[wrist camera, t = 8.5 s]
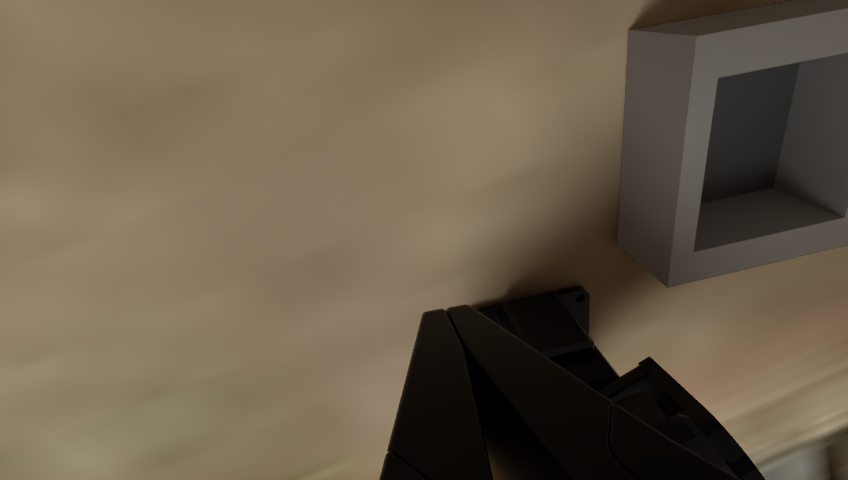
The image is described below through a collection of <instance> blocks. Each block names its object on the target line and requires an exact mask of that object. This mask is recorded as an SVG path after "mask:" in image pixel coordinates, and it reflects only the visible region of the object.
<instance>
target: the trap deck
mask: <svg viewBox="0 0 848 480" xmlns="http://www.w3.org/2000/svg"><path fill="white" fill-rule="evenodd" d="M617 245H618V246H619V247H620V248H621V249H622V250H623V251H625V252H626V253H627V254H628V255H629V256H631V257H632V258H633V259H634V260H635V261H637V262H638V263H639V264H640V265H641V266H642V267H644V268H645V269H646V270H647V271H648V272H650V273H651V274H652V275H653V276H654V277H656V278H657V279H658V280H659V281H660V282H661V283H663V284H664V285H665V286H666V287H667V288H668V287H672V286H677V285H681V284H685V283H689V282H694V281H698V280H702V279H706V278H710V277H715V276H719V275H723V274H727V273H732V272H736V271H740V270H744V269H749V268H753V267H757V266H761V265H765V264H770V263H774V262H778V261H782V260H787V259H791V258H795V257H799V256H804V255H808V254H812V253H816V252H821V251H825V250H829V249H833V248H837V247H842V246H846V245H848V0H791V1H785V2H780V3H774V4H769V5H763V6H758V7H752V8H747V9H742V10H736V11H731V12H725V13H720V14H714V15H709V16H703V17H698V18H692V19H687V20H681V21H676V22H670V23H665V24H659V25H654V26H648V27H643V28H637V29H632V30H629V34H628V53H627V72H626V91H625V110H624V129H623V148H622V167H621V185H620V204H619V223H618V242H617Z"/></svg>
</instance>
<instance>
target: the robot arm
mask: <svg viewBox="0 0 848 480" xmlns="http://www.w3.org/2000/svg"><path fill="white" fill-rule="evenodd" d="M580 294H581V295H580ZM578 295H580V296H579V297H578V298H576V297H577V296H578ZM638 364H639V366H637V367H636V368H634V369H632V370H631V371H629V372H628V373H626V374H624V375H623V376H621V377H619V375H618V374H617V373H616V371H615V370H614V369H613V368H612V366H611V365H610V364H609V362H608V361H607V360H606V358H605V357H604V356H603V355H602V353H601V352H600V351H599V349H598V348H597V347H596V346H595V344H594V342H593V340H592V339H591V338H590V336H589V293H588V292H587V291H586V290H585V289H584V287H582V286H575V287H571V288H566V289H562V290H558V291H553V292H548V293H544V294H540V295H535V296H531V297H527V298H522V299H518V300H514V301H509V302H506V303H502V304H497V305H493V306H489V307H484V308H480V309H476V310H475V309H474V308H472V307H471V306H469V305H460V306H455V307H449V308H448V309H447V310H446V311H445V310H444V309H438V310H432V311H427V312H424V313H423V315H422V318H421V322H420V326H419V330H418V334H417V338H416V341H415V345H414V349H413V353H412V357H411V361H410V365H409V369H408V372H407V376H406V380H405V384H404V388H403V392H402V396H401V399H400V403H399V407H398V411H397V415H396V419H395V423H394V427H393V430H392V434H391V438H390V442H389V446H388V453H387V454H386V456H385V460H384V464H383V468H382V472H381V476H380V479H379V480H765V479H764V477H763V476H762V474H761V473H760V472H759V470H758V469H757V467H756V466H755V465H754V464H753V462H752V461H751V460H750V458H749V457H748V456H747V454H746V453H745V452H744V451H743V449H742V448H741V447H740V446H739V445H738V443H737V442H736V441H735V440H734V438H733V437H732V436H731V435H730V434H729V433H728V432H727V430H726V429H725V428H724V427H723V426H722V425H721V424H720V423H719V422H718V420H717V419H716V418H715V417H714V416H713V415H712V414H711V413H710V412H709V411H708V410H707V409H706V408H705V407H704V406H703V405H701V404H700V403H699V402H698V401H697V400H696V399H695V398H694V397H693V396H692V395H691V394H690V393H688V392H687V391H686V390H685V389H684V388H683V387H682V386H681V385H680V384H679V383H678V382H677V381H676V380H674V379H673V378H672V377H671V376H670V375H669V374H668V373H667V372H666V371H665V370H664V369H663V368H661V367H660V366H659V365H658V364H657V363H656V362H655V361H654V360H653V359H652V358H651V357H648V358H646V359H644V360H643V361H641V362H639V363H638Z"/></svg>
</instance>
